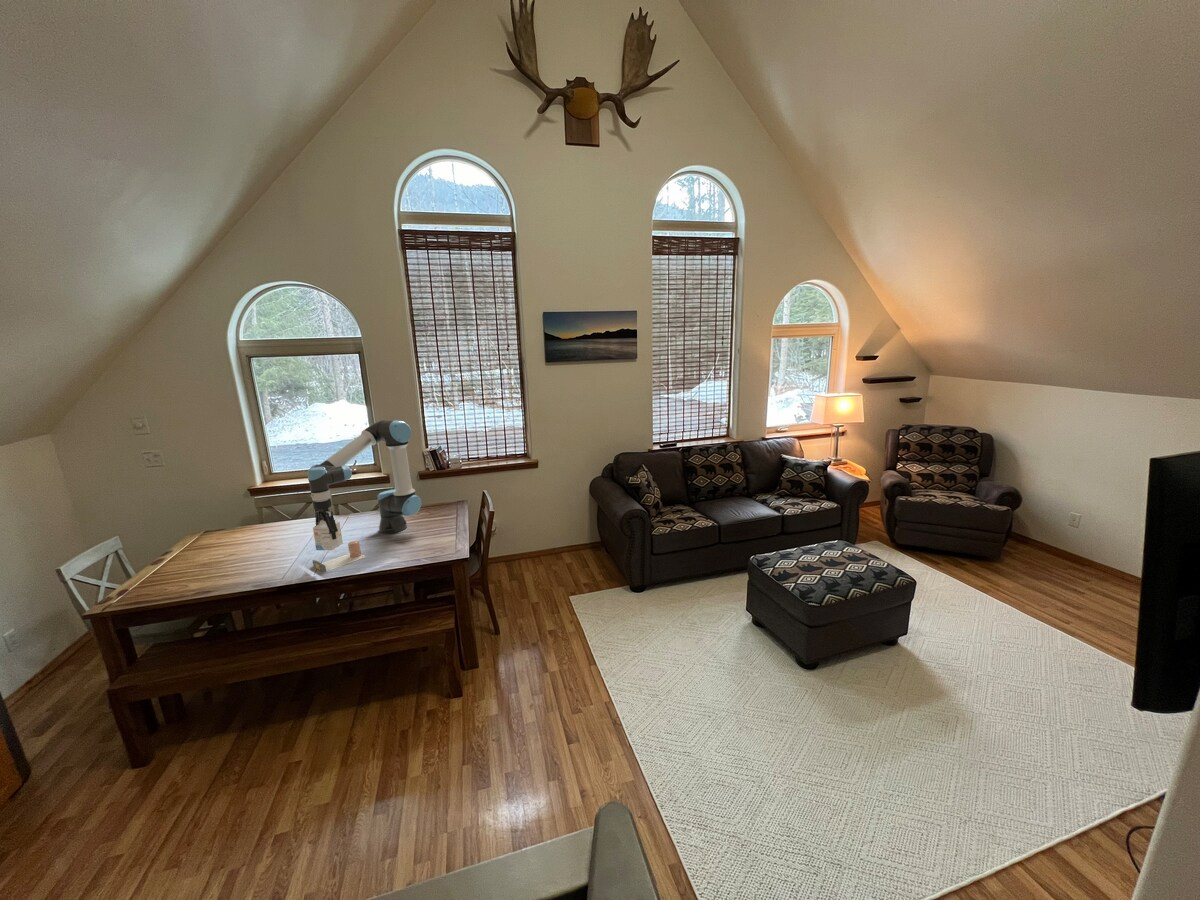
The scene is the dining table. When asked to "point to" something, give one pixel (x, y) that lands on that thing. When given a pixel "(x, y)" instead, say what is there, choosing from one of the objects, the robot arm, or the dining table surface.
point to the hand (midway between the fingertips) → (329, 542)
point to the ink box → (326, 536)
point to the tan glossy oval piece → (354, 549)
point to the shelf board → (335, 562)
